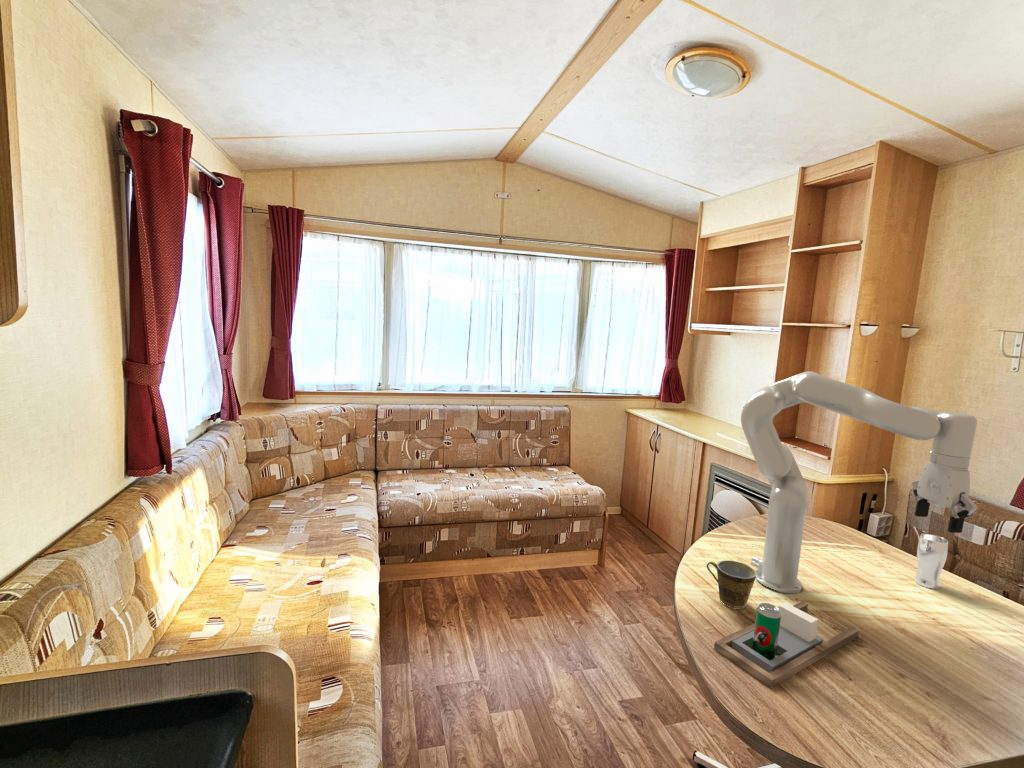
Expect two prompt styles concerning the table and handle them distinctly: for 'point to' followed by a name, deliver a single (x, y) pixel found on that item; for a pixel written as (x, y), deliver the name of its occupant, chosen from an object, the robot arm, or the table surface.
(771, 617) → the soda can
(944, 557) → the beer glass
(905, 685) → the table surface
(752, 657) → the grey board with block
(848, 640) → the track
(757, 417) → the robot arm
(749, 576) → the ceramic cup
